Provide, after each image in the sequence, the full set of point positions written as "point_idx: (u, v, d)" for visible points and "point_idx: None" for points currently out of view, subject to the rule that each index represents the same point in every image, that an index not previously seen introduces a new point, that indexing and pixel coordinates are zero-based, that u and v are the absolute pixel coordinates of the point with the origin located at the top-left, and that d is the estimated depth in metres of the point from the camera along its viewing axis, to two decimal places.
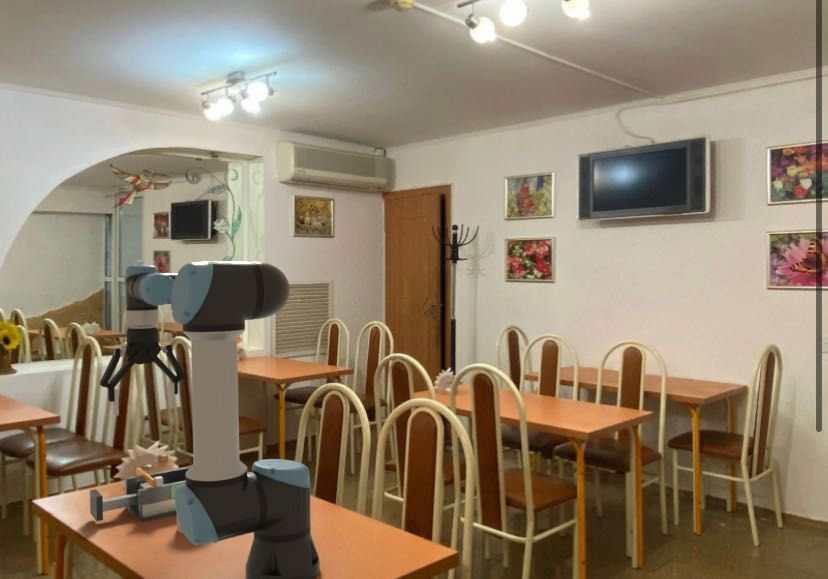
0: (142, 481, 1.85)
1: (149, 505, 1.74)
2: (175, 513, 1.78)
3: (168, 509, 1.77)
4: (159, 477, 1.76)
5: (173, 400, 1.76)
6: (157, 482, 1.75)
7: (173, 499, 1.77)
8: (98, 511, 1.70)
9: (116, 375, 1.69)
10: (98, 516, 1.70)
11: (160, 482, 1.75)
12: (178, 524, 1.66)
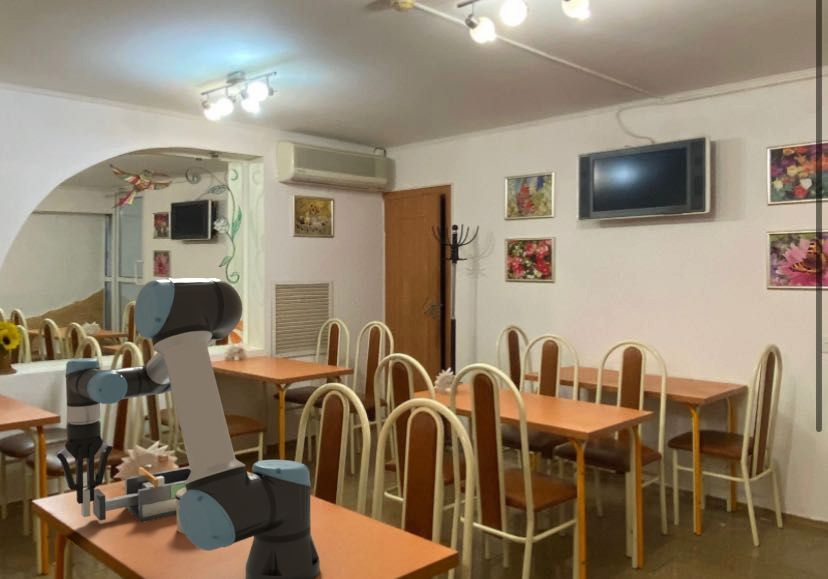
0: (142, 481, 1.85)
1: (149, 505, 1.74)
2: (175, 513, 1.78)
3: (168, 509, 1.77)
4: (160, 477, 1.76)
5: (88, 508, 1.71)
6: (158, 482, 1.75)
7: (173, 499, 1.77)
8: (101, 510, 1.70)
9: (76, 477, 1.70)
10: (101, 515, 1.70)
11: (161, 482, 1.76)
12: (178, 524, 1.66)
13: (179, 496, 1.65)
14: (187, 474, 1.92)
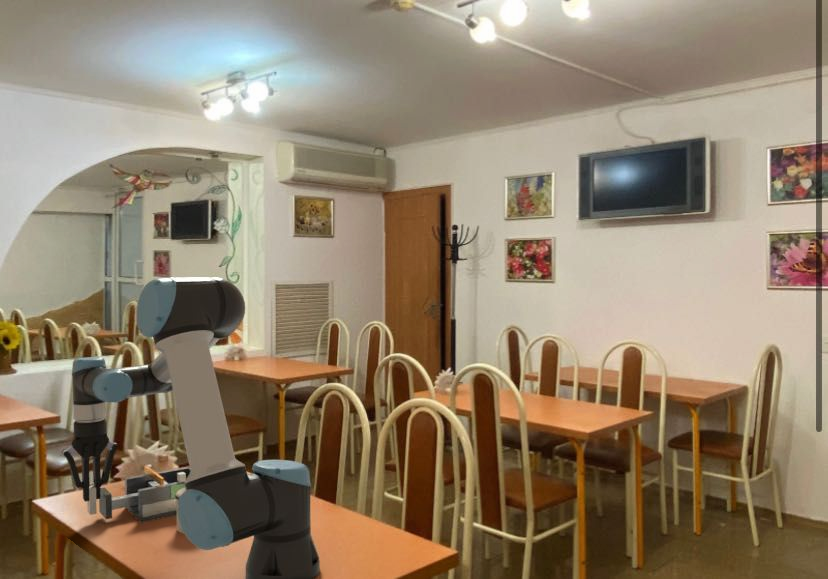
0: (142, 481, 1.85)
1: (149, 505, 1.74)
2: (175, 513, 1.78)
3: (168, 509, 1.77)
4: (182, 473, 1.80)
5: (95, 506, 1.72)
6: (180, 478, 1.78)
7: (173, 499, 1.77)
8: (107, 509, 1.71)
9: (83, 475, 1.71)
10: (107, 514, 1.71)
11: (183, 478, 1.79)
12: (178, 524, 1.66)
13: (179, 496, 1.65)
14: (187, 474, 1.92)
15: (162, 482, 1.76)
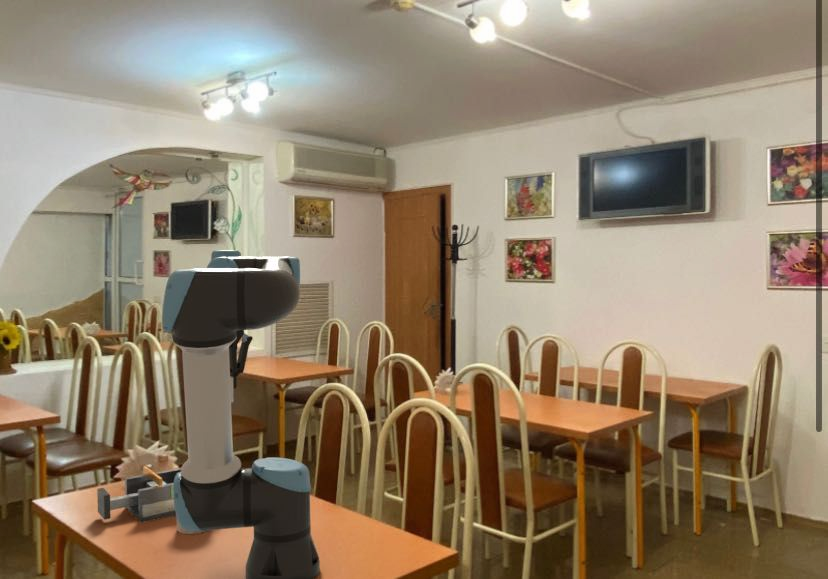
0: (142, 481, 1.85)
1: (149, 505, 1.74)
2: (175, 513, 1.78)
3: (168, 509, 1.77)
4: None
5: (232, 394, 1.76)
6: None
7: (173, 499, 1.77)
8: (106, 509, 1.71)
9: None
10: (106, 514, 1.71)
11: None
12: (178, 524, 1.66)
13: None
14: None
15: (161, 482, 1.75)
